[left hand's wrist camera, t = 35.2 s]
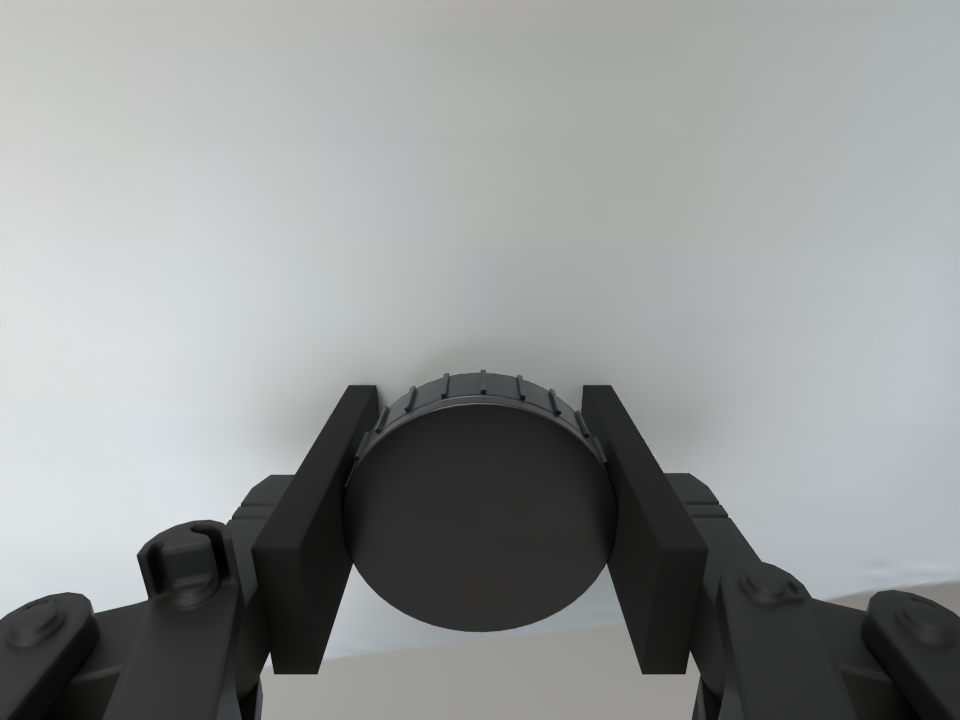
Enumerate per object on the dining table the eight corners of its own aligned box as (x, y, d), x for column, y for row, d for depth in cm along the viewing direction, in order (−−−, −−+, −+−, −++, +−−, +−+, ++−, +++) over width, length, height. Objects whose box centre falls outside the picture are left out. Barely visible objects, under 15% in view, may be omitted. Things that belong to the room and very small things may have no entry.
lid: (316, 525, 13) (293, 573, 11) (423, 321, 11) (415, 345, 9) (523, 614, 14) (528, 669, 12) (654, 440, 12) (679, 479, 10)
